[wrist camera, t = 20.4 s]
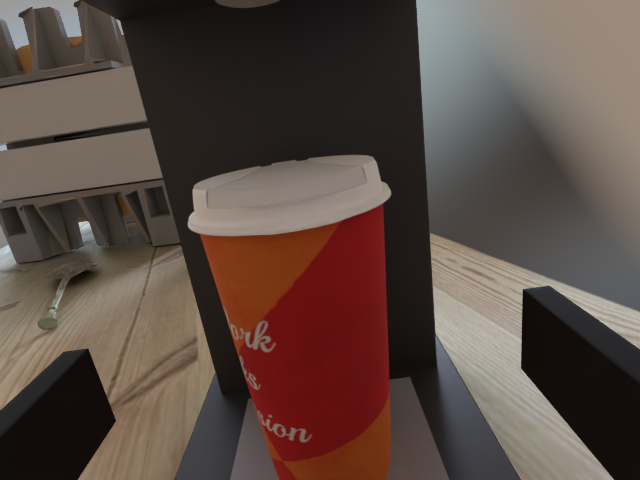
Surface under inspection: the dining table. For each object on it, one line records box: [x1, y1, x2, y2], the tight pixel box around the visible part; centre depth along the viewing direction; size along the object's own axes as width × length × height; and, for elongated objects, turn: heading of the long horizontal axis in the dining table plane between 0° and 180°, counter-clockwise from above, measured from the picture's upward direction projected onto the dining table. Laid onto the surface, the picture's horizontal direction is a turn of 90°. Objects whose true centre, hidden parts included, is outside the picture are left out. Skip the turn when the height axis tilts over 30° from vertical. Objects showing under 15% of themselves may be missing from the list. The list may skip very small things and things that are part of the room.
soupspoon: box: [38, 261, 97, 330], centre depth 50 cm, size 22×3×7 cm
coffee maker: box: [81, 0, 521, 480], centre depth 15 cm, size 18×16×29 cm
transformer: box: [0, 0, 180, 263], centre depth 77 cm, size 34×33×41 cm
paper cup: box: [188, 155, 391, 480], centre depth 16 cm, size 8×8×14 cm
